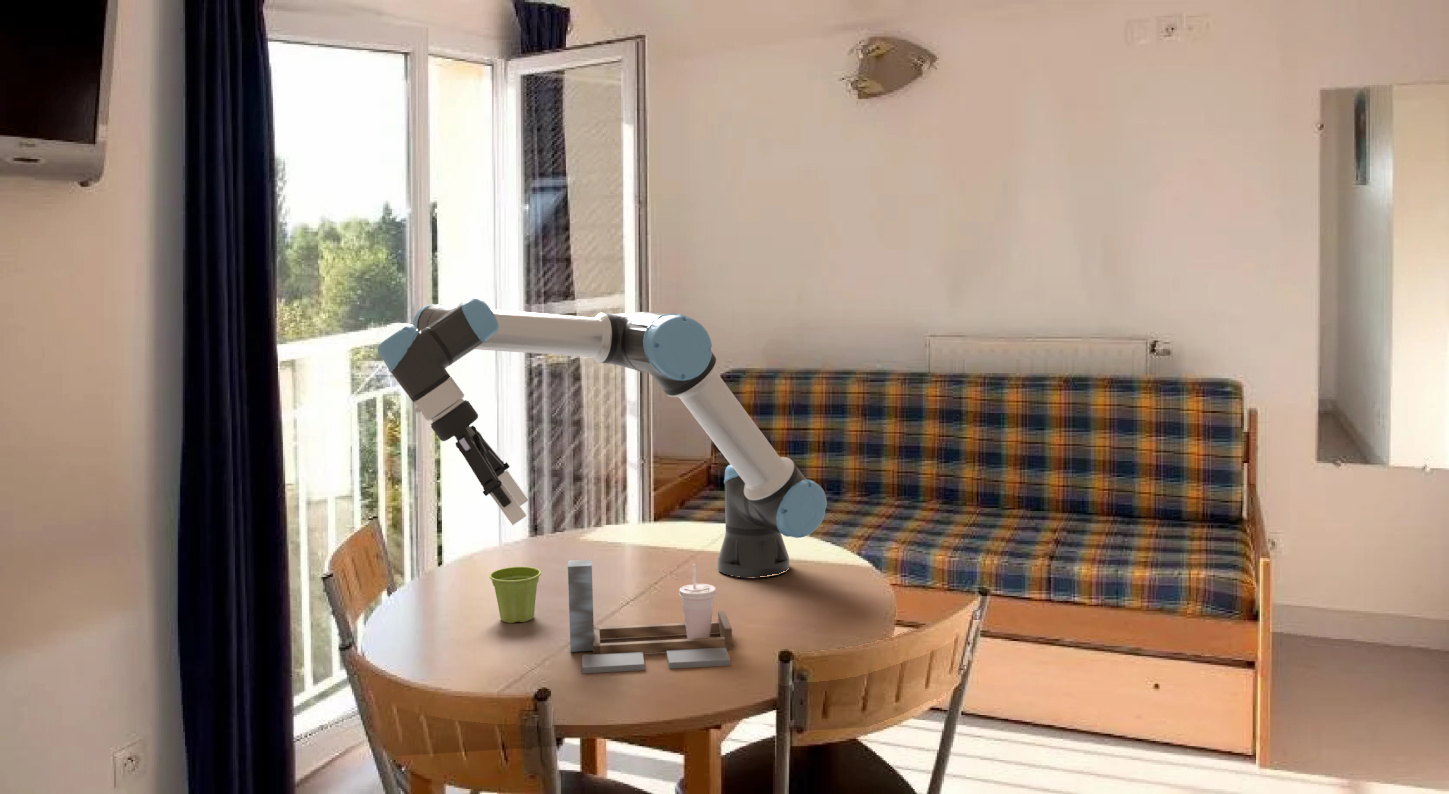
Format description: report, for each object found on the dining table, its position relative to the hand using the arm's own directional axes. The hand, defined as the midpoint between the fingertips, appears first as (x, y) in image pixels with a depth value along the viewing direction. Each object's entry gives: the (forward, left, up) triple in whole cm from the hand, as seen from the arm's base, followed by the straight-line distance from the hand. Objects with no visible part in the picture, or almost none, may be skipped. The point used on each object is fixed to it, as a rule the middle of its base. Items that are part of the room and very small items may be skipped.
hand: (521, 512), depth 209 cm
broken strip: (-22, +12, -24) cm, 34 cm away
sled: (-22, +3, -24) cm, 32 cm away
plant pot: (+2, -16, -24) cm, 28 cm away
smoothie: (-30, +3, -24) cm, 38 cm away
